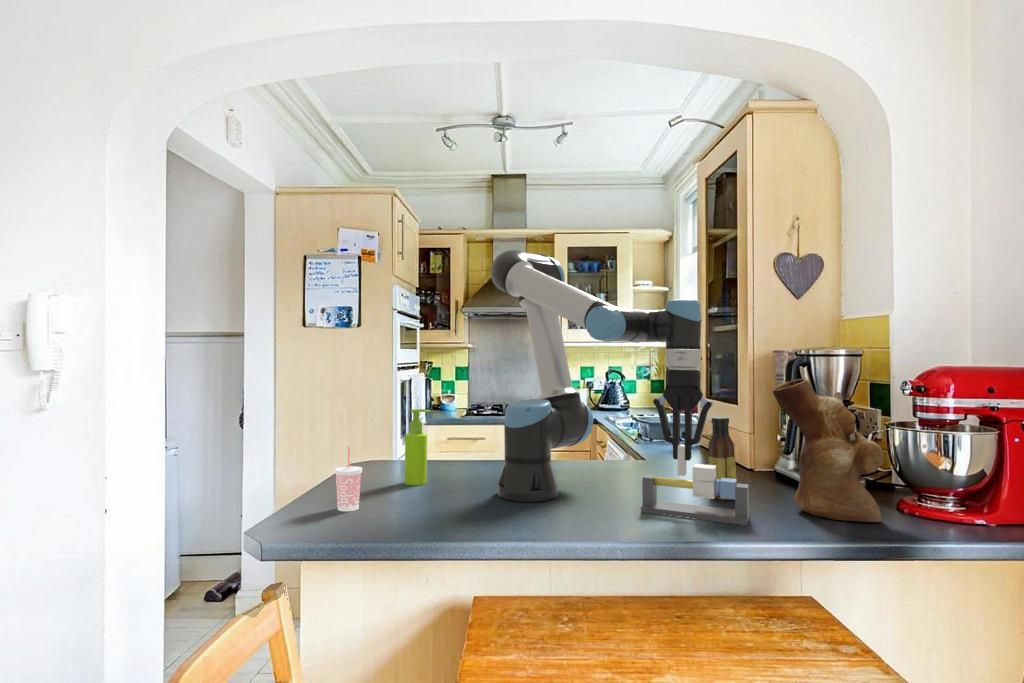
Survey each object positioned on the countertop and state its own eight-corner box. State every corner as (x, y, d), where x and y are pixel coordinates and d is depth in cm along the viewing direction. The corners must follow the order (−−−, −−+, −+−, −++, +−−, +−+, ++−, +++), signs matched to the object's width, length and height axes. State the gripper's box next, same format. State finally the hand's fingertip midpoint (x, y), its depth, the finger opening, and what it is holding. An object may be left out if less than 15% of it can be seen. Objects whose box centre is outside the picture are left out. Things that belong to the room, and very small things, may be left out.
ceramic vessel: (895, 528, 116) (894, 381, 116) (780, 520, 121) (779, 379, 122) (867, 507, 131) (866, 378, 132) (765, 501, 136) (764, 376, 137)
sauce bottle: (732, 495, 142) (732, 415, 143) (740, 501, 136) (739, 418, 136) (705, 494, 143) (705, 415, 143) (711, 501, 137) (711, 418, 137)
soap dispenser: (428, 485, 151) (429, 410, 152) (402, 485, 151) (403, 410, 152) (432, 480, 157) (432, 408, 158) (407, 480, 157) (407, 408, 158)
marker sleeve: (692, 496, 123) (692, 467, 123) (695, 492, 127) (695, 463, 127) (714, 499, 121) (713, 468, 121) (716, 494, 125) (716, 465, 125)
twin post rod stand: (640, 512, 127) (640, 474, 127) (647, 504, 133) (647, 469, 133) (746, 525, 117) (746, 485, 117) (749, 517, 123) (749, 478, 123)
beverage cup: (328, 510, 127) (329, 447, 127) (345, 503, 133) (345, 443, 133) (351, 513, 125) (352, 449, 125) (367, 506, 130) (368, 445, 131)
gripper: (649, 368, 126) (648, 474, 126) (711, 370, 121) (710, 481, 120) (656, 367, 133) (655, 468, 133) (715, 369, 127) (714, 474, 127)
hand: (681, 474), depth 126 cm, fingers closed
